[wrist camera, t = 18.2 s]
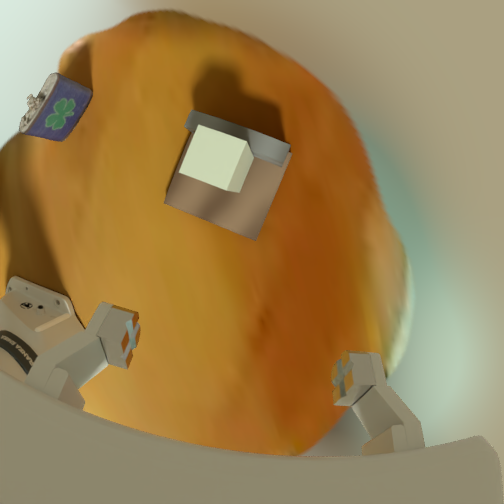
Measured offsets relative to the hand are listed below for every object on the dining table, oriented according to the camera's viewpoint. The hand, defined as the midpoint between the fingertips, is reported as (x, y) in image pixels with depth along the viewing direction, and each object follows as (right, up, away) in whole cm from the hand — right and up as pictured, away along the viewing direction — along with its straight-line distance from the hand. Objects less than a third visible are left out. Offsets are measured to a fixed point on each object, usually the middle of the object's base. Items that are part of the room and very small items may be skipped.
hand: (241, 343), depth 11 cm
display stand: (-2, +12, +24) cm, 27 cm away
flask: (-26, +24, +24) cm, 42 cm away
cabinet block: (-2, +13, +22) cm, 26 cm away
